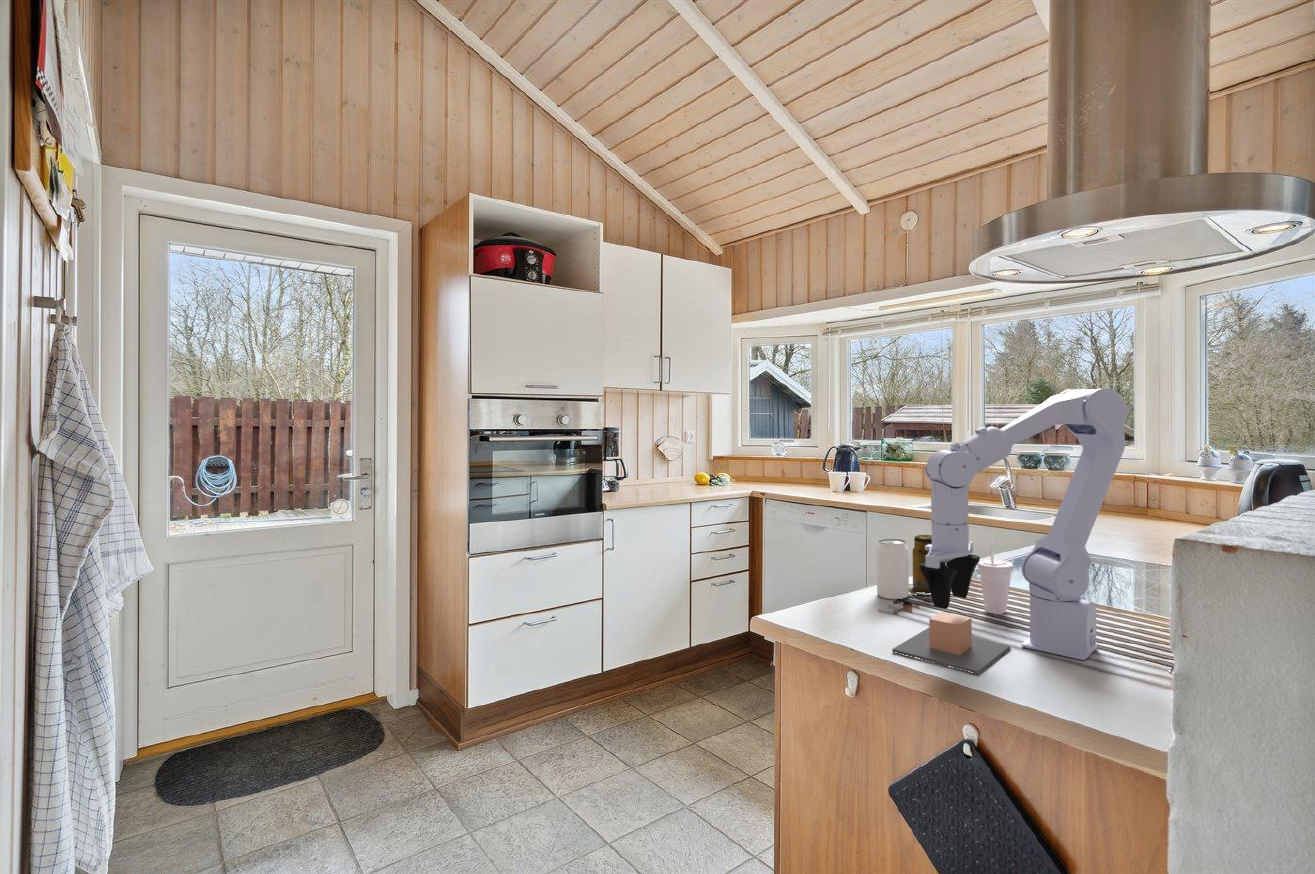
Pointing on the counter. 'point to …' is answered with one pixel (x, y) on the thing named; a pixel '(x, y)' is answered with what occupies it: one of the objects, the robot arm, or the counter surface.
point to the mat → (969, 660)
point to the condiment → (919, 558)
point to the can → (892, 569)
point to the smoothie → (995, 583)
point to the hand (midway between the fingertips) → (950, 601)
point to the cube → (950, 633)
